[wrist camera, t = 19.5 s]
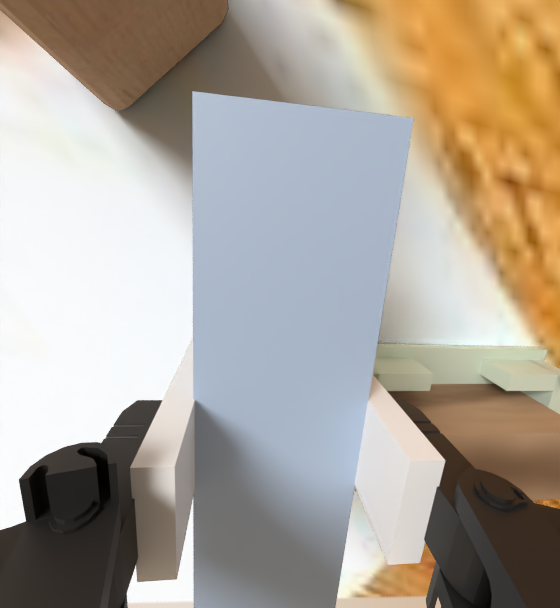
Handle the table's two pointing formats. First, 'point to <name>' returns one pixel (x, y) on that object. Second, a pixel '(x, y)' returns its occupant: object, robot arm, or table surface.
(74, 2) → the wooden block
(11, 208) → the table surface
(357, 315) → the blue-grey rectangular prism
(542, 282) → the table surface
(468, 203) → the table surface
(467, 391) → the brown rectangular block
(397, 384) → the jig
